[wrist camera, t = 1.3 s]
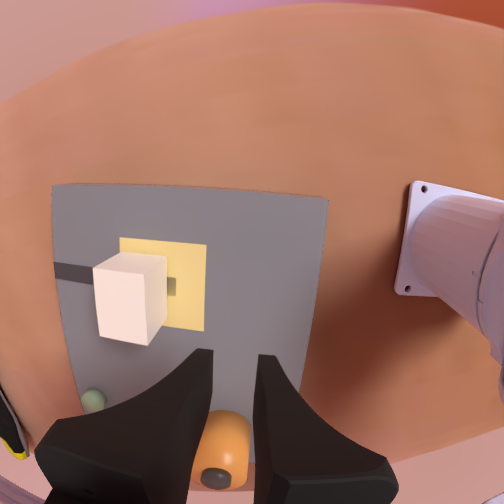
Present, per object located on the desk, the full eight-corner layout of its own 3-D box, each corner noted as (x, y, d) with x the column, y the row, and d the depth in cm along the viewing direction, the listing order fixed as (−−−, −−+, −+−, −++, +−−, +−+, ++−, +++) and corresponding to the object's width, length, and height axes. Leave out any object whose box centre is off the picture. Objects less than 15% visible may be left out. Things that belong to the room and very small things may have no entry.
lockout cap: (253, 412, 21) (248, 470, 16) (249, 445, 22) (244, 499, 17) (199, 406, 21) (183, 460, 16) (200, 439, 22) (187, 491, 17)
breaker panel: (321, 197, 20) (333, 201, 16) (281, 445, 25) (281, 474, 21) (71, 183, 20) (41, 186, 17) (99, 414, 26) (84, 437, 22)
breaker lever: (166, 256, 18) (144, 274, 15) (167, 317, 19) (147, 345, 16) (121, 251, 18) (92, 267, 15) (124, 310, 19) (99, 336, 16)
